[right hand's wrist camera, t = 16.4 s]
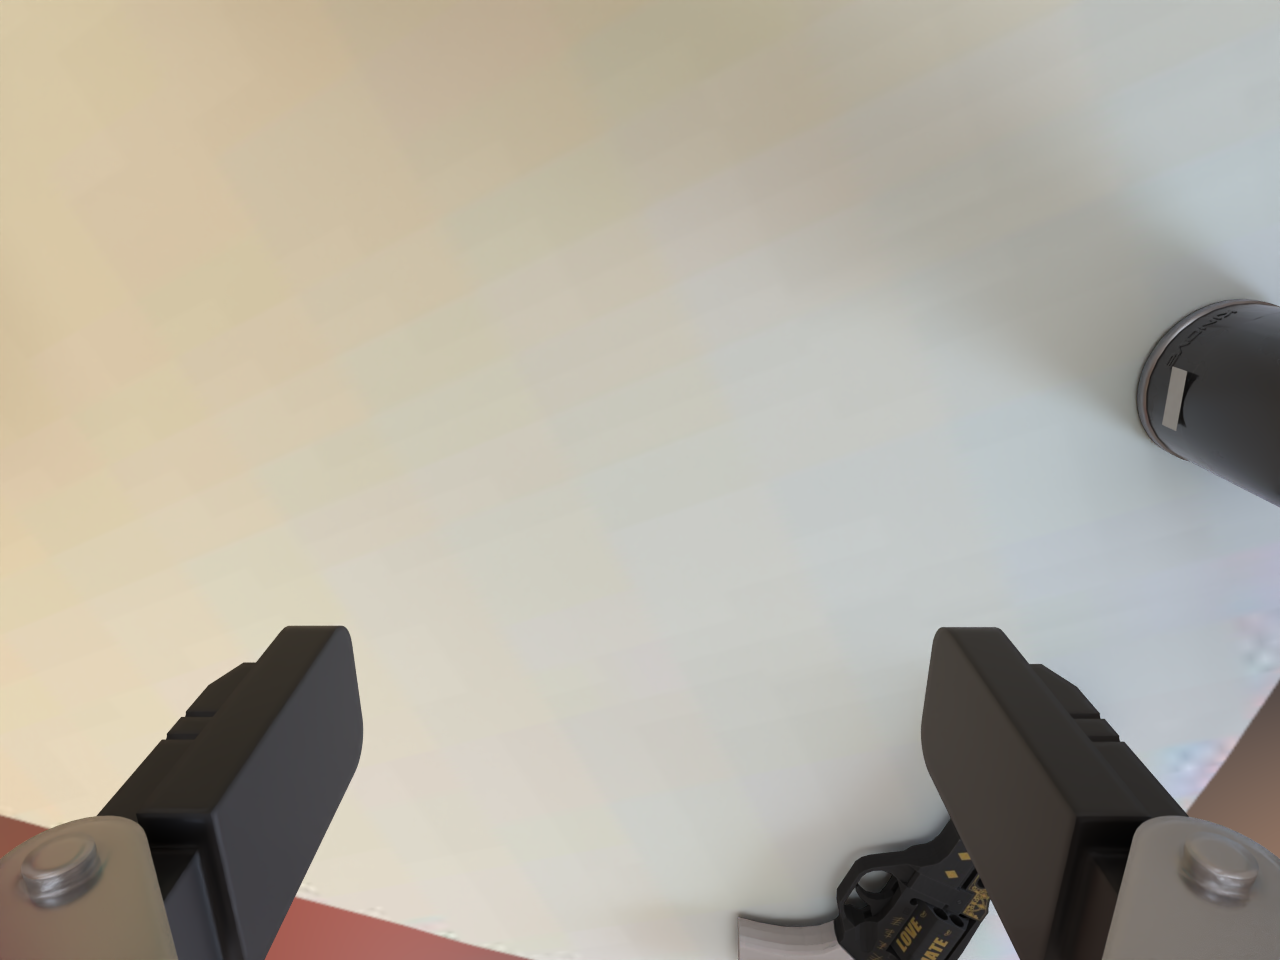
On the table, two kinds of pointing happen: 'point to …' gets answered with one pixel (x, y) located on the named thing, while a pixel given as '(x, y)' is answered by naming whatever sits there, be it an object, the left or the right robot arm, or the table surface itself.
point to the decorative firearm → (888, 911)
